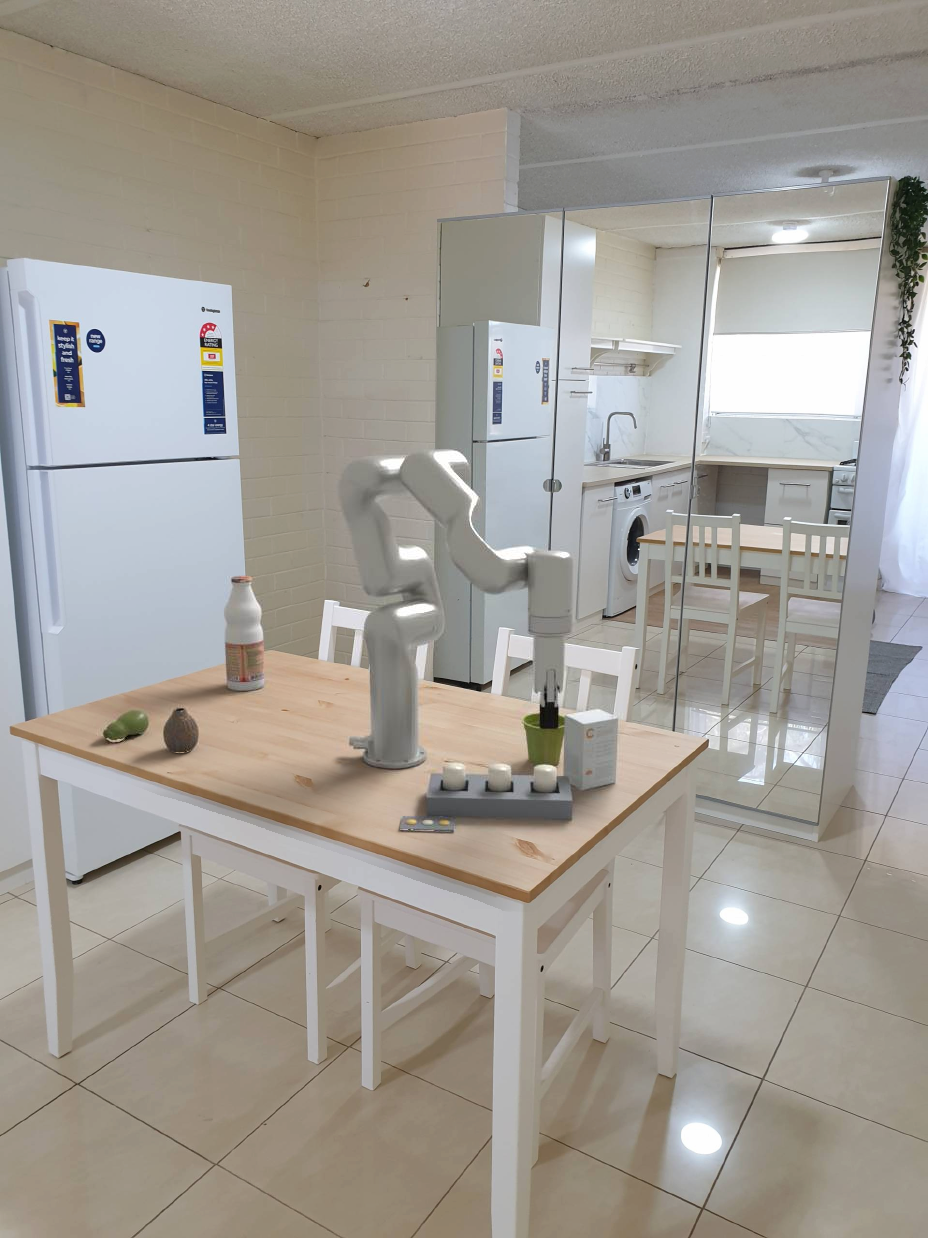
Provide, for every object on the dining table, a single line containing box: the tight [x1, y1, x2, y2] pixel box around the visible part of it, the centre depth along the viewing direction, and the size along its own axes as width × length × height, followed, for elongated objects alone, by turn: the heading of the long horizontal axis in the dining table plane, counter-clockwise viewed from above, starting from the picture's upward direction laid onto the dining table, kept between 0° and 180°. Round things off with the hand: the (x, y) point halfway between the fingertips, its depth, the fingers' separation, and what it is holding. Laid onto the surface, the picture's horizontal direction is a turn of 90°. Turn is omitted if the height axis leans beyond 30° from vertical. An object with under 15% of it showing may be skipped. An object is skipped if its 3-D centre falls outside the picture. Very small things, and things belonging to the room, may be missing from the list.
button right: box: [533, 765, 558, 792], centre depth 166 cm, size 4×4×4 cm
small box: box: [562, 708, 619, 791], centre depth 177 cm, size 8×6×13 cm
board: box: [425, 772, 574, 821], centre depth 167 cm, size 25×11×4 cm, turn 88°
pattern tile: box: [399, 815, 456, 833], centre depth 158 cm, size 9×5×1 cm, turn 88°
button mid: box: [487, 763, 512, 791], centre depth 166 cm, size 4×4×4 cm
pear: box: [102, 709, 150, 740], centre depth 200 cm, size 6×5×10 cm
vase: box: [162, 707, 200, 753], centre depth 192 cm, size 7×7×9 cm
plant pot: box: [521, 712, 565, 766], centre depth 187 cm, size 9×9×9 cm
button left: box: [442, 762, 467, 790], centre depth 166 cm, size 4×4×4 cm
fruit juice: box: [223, 575, 266, 692], centre depth 235 cm, size 9×9×28 cm
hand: (548, 727), depth 163 cm, fingers closed
